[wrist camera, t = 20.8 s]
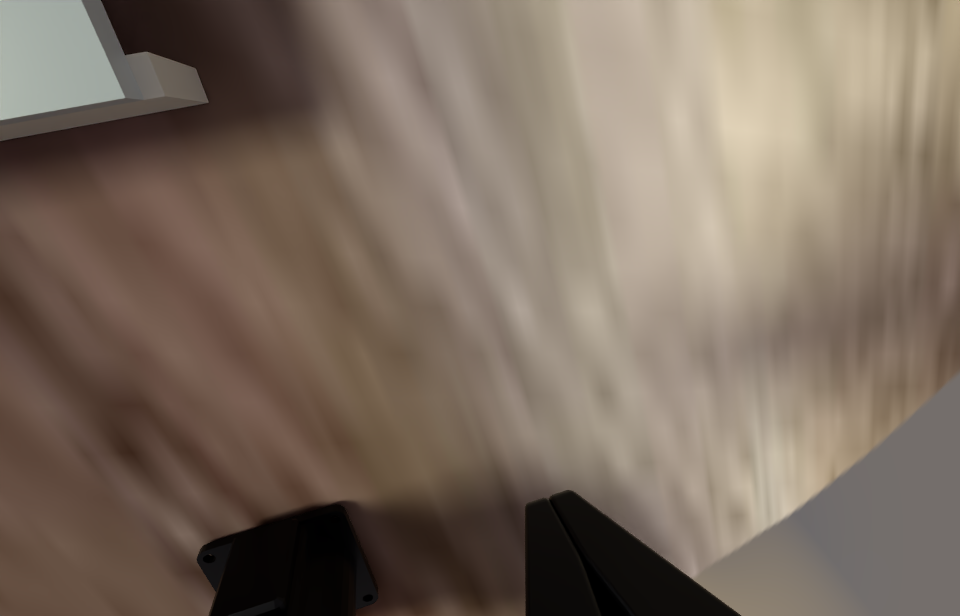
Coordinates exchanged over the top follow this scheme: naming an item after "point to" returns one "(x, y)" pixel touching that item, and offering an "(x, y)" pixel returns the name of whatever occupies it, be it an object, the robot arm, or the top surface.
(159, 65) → the white slat
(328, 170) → the top surface
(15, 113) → the cover
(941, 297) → the top surface
